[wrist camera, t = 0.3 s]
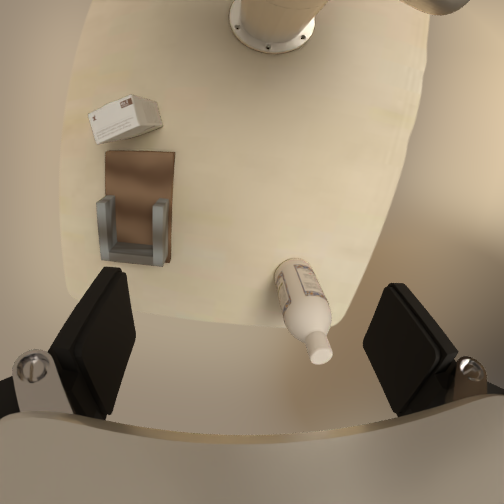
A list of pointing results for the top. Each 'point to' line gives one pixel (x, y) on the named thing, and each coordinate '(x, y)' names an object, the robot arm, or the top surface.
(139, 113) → the skincare box
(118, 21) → the top surface
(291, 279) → the bath foam
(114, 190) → the u rest
